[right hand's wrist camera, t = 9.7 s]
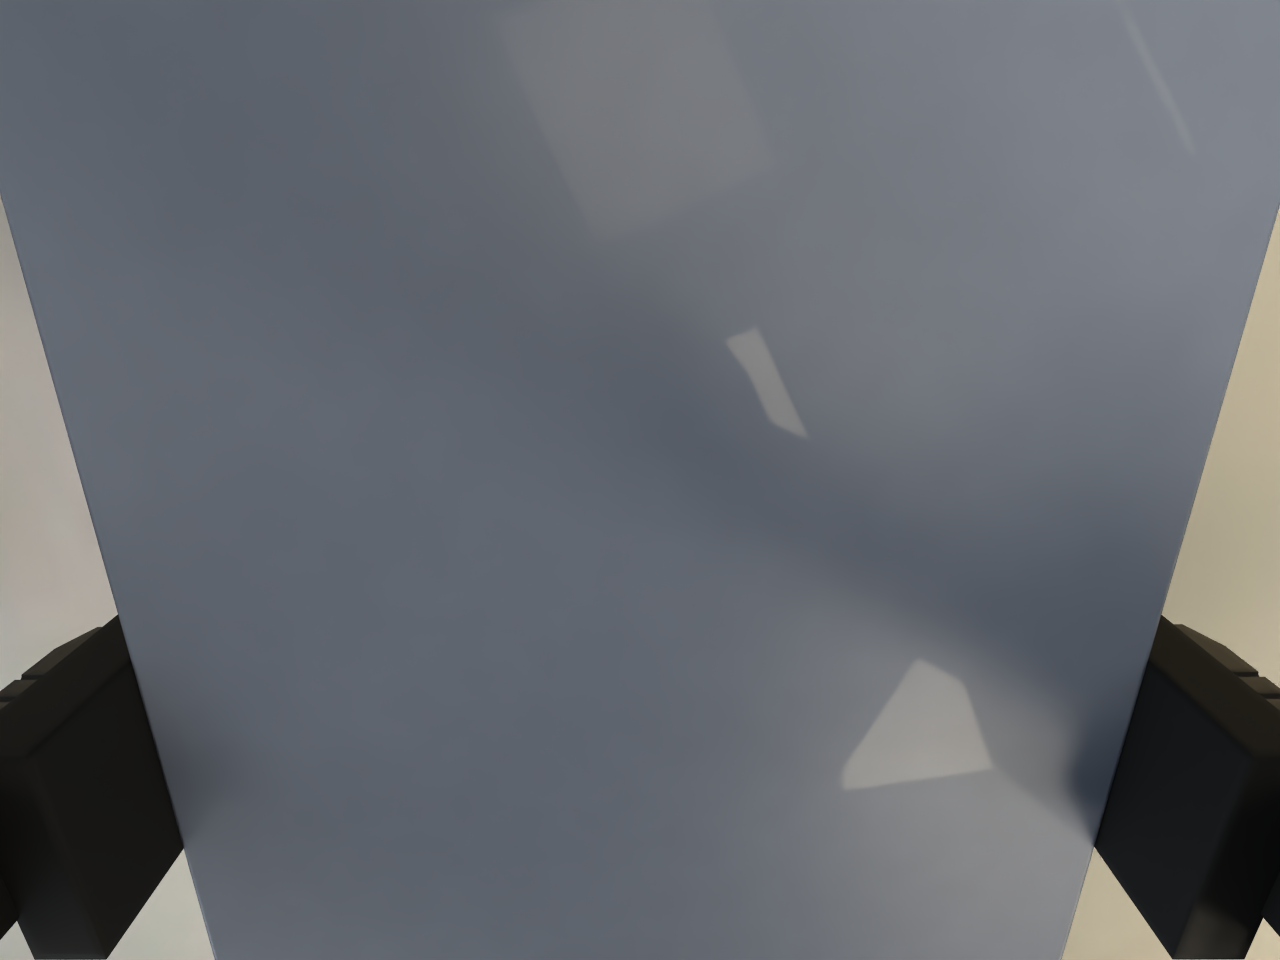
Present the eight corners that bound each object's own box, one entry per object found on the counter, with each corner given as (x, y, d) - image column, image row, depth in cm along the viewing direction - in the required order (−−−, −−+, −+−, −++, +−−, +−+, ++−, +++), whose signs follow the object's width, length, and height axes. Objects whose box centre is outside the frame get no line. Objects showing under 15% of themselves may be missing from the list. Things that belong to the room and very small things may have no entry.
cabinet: (360, -151, 14) (-378, -1119, 4) (922, -148, 14) (1664, -1096, 4) (437, 582, 20) (217, 980, 10) (840, 583, 20) (1058, 982, 10)
